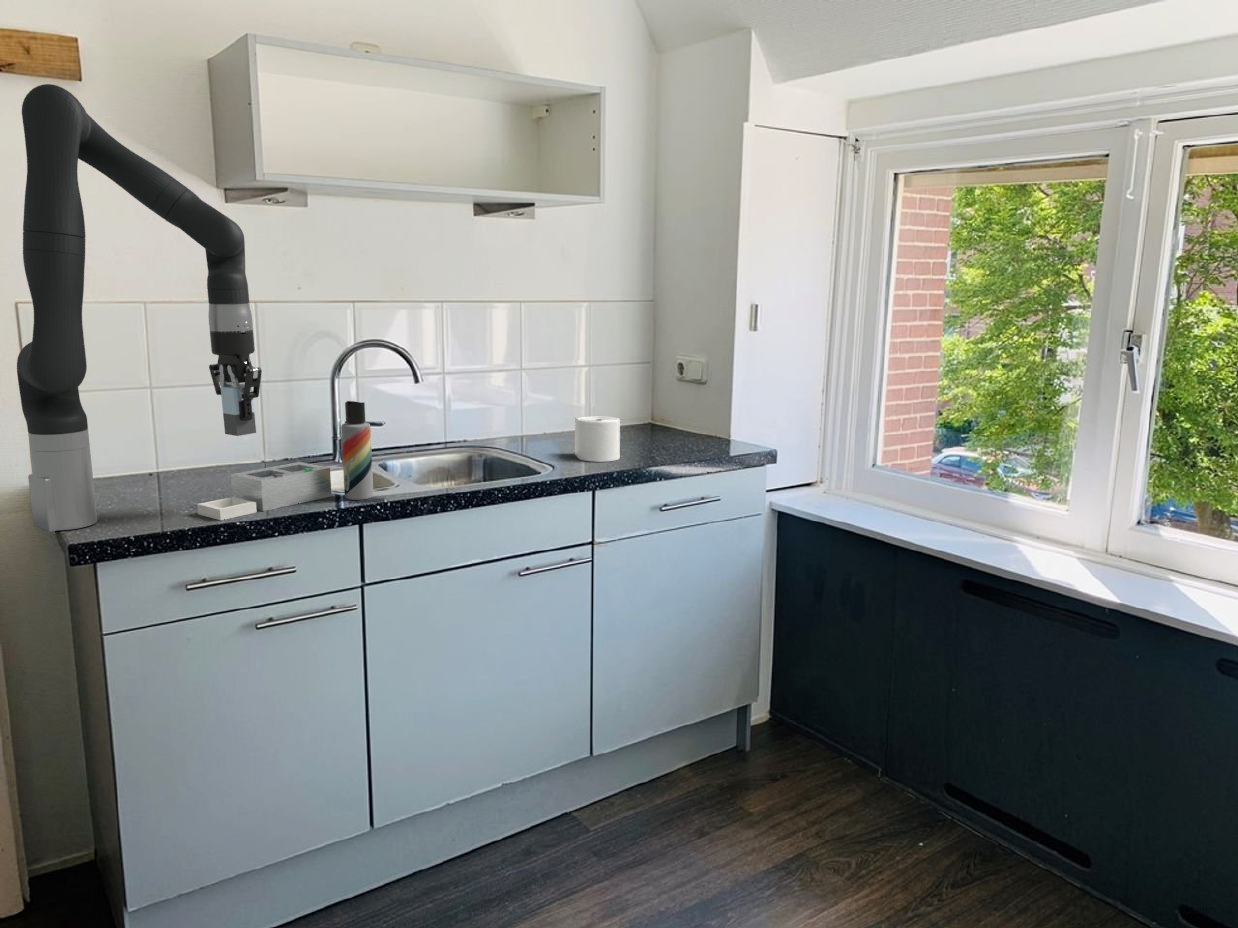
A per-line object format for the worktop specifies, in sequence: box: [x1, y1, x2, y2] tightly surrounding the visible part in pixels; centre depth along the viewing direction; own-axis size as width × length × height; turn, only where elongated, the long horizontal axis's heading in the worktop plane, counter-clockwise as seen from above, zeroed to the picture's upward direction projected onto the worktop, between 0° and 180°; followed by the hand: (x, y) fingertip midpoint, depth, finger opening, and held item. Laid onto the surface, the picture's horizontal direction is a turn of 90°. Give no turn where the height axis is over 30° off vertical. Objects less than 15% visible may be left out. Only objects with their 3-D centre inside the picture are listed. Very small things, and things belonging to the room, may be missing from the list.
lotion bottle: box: [340, 400, 374, 501], centre depth 193 cm, size 6×6×20 cm
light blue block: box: [220, 386, 257, 437], centre depth 180 cm, size 4×4×9 cm
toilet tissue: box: [574, 415, 621, 463], centre depth 237 cm, size 11×12×10 cm
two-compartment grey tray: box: [230, 461, 332, 512], centre depth 191 cm, size 16×10×6 cm, turn 145°
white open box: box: [196, 496, 258, 521], centre depth 180 cm, size 8×8×2 cm
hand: (239, 418), depth 180 cm, fingers closed on light blue block, 4 cm apart
